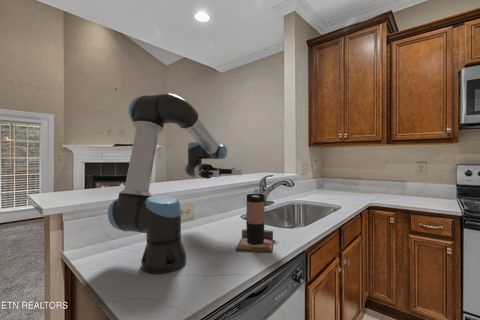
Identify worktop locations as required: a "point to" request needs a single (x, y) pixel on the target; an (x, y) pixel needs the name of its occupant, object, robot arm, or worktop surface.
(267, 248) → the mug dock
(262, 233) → the travel mug
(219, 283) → the worktop surface
